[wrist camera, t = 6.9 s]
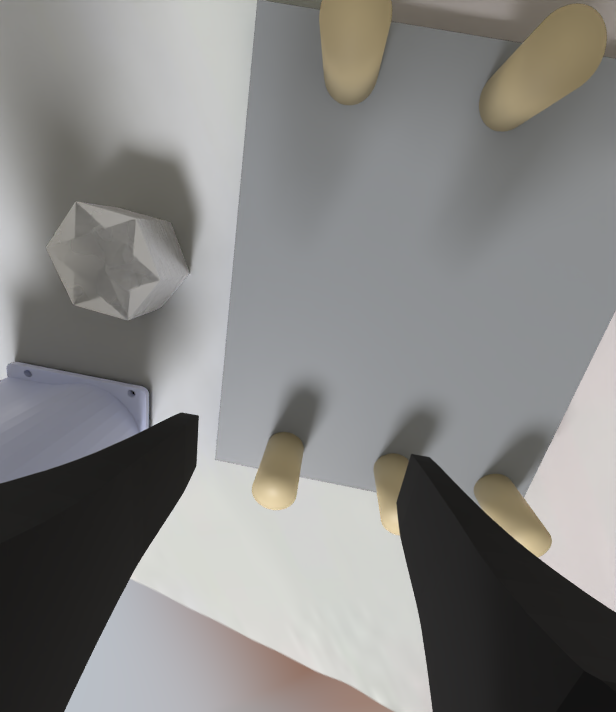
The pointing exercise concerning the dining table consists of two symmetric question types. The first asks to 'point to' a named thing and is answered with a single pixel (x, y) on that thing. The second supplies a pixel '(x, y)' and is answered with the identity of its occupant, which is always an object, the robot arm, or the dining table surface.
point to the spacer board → (417, 252)
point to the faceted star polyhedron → (117, 260)
